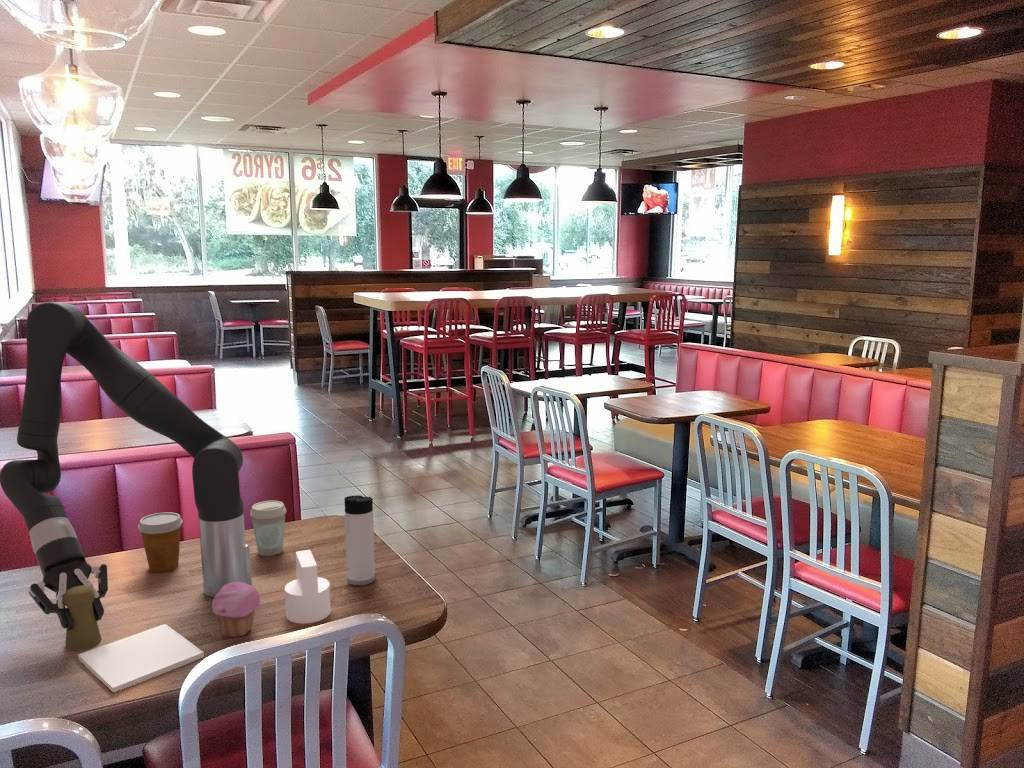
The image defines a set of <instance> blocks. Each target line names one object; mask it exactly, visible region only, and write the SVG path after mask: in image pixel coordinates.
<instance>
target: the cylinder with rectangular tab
mask: <svg viewBox="0 0 1024 768" xmlns="http://www.w3.org/2000/svg"><path fill="white" fill-rule="evenodd" d="M295 568H296V569H295V570H296V579H293V580H291V581H290V582H287V584H285V586H284V602H285V618H286V619H287V620H288V621H289V622H291V623H295V624H312V623H315V622H320V621H322V620H324V619H326V618H327V617H328V616H330V615H331V606H332V605H331V584H330V581H329V580H328V579H326V578H324V577H320V576H318V565H317V562H316V559H315V557H314V555H313V552H312V551H311V549H305V550H297V551H296V552H295Z"/></svg>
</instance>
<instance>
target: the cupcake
mask: <svg viewBox="0 0 1024 768" xmlns="http://www.w3.org/2000/svg"><path fill="white" fill-rule="evenodd" d="M260 599H261V597H260V594H259V591H258V590H257V588H256V586H253V585H252V586H251V585H248V584H245V583H242V582H232V583H228V584H226V585H224V586H223V587H222V588H221V589H220V591H219V592H218V593H217V594H216V595H215V597H213V599H212V602H211V603H212V604H211V610H212V612H213V613H214V614H215V615H216V617H217V619H218V623H219V631H220V633H221V635H222V636H224V637H226V638H234V637H235V638H237V637H243V636H244V635H246V634H247V633H248V632H249V631H250V630H251V629H252V628H253V624H254V616H255V612H256V609H257V608H259V606H260V604H261V600H260Z"/></svg>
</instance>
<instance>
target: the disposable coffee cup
mask: <svg viewBox="0 0 1024 768" xmlns="http://www.w3.org/2000/svg"><path fill="white" fill-rule="evenodd" d="M183 521H184V520H183V518H181V515H180V514H179V513H176V512H170V511H169V512H167V511H165V512H158V513H157V512H155V513H152V514H147V515H145V516H143V517H142V518H141V519H140V520H139V524H138V526H137V529H139V531H140V534H141V537H142V543H143V547H144V552H145V556H146V561H147V564H148V565H147V566H148V569H149V571H151V572H154V573H164V572H169V571H172V570H174V569H176V568H178V567H179V560H180V559H179V558H180V544H181V543H180V542H181V528H182V524H183Z"/></svg>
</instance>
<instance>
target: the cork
mask: <svg viewBox="0 0 1024 768" xmlns="http://www.w3.org/2000/svg"><path fill="white" fill-rule="evenodd" d="M94 597H95V593H94V590H93V589H92V588H91V587H90V586H86V585H81V586H75V587H72V588H70V589H68V590H67V591H66V592H65V594H64V597H63V600H64V604H65V608H68V611H69V614H70V616H71V619H72V622H73V628H72V629H71V630H68V631H67V629H66V628H65V629H66V631H65V648H66V649H67V650H70V651H83V650H87V649H90V648H92V646H93V647H95V646H96V645H98V644H99V643H100V642H101V641H102V636H101V633H100V629H99V628H100V627H99V625H98V621H96V616H95V612H94V608H93V605H92V602H93V600H94ZM86 648H87V649H86Z"/></svg>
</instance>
